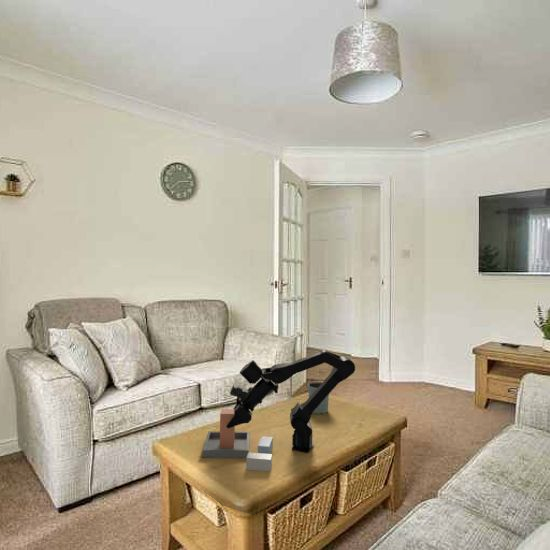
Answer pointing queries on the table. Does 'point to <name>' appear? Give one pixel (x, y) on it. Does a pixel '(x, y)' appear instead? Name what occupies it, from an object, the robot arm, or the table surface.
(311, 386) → the blue-grey bin
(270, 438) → the slate brick
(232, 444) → the column
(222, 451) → the tray
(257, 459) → the grey brick
